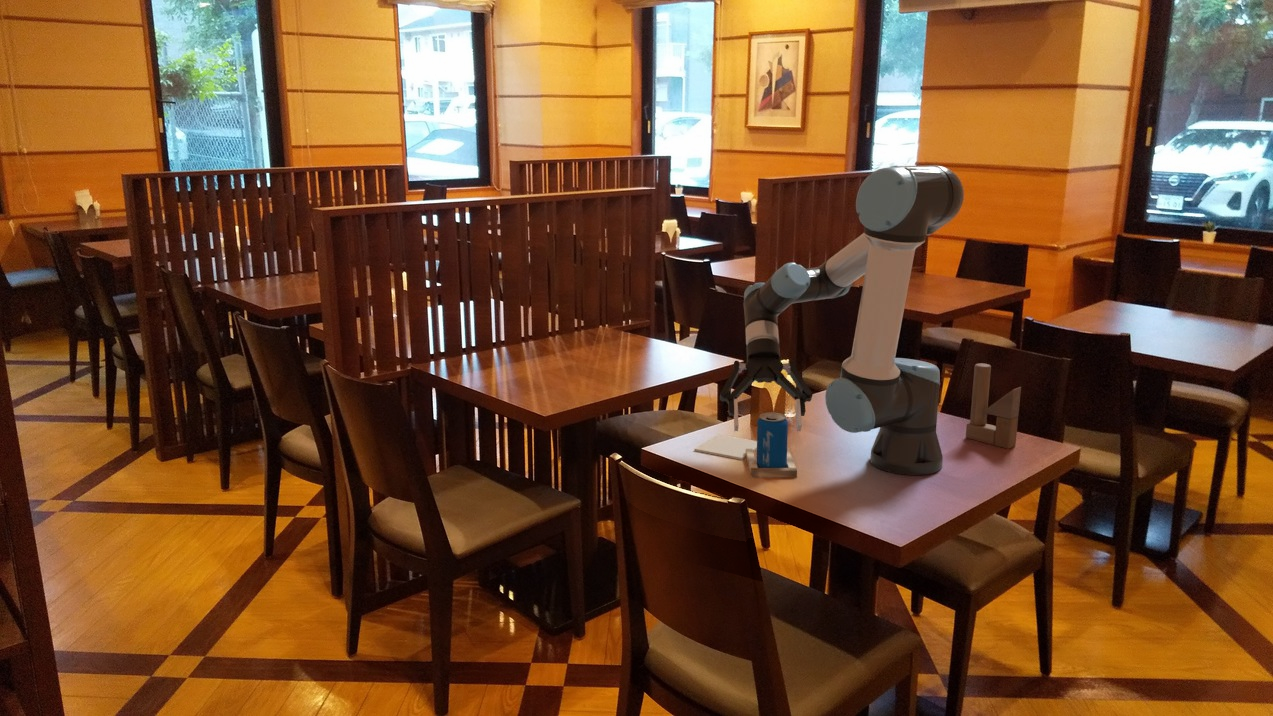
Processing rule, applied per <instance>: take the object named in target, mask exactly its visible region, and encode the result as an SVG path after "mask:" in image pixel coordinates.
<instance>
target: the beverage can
mask: <svg viewBox="0 0 1273 716" xmlns="http://www.w3.org/2000/svg"><path fill="white" fill-rule="evenodd" d="M756 423H757V427H756V441H757V450H756V463H757V467H758V468H786V467H787V449H788V434H789V433H788V431H789V422H788V420H787V415H785V414H784V413H781V412H780V413H779V412H764V413H761V414H760V415H759V418H758V419H757V422H756Z"/></svg>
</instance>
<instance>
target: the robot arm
mask: <svg viewBox="0 0 1273 716" xmlns="http://www.w3.org/2000/svg"><path fill="white" fill-rule="evenodd" d="M964 196H965V191H964V186H963V183H962V181H961V179H960V178H959V176H958V175H957V174H956V173H955V172H954V171H953V170H951V169H950V168H947V167H945V166H942V165H939V164H929V165H928V164H927V165H892V166H889V167H882V168H878V169H876V170H874V171H873V172H871V173H870V175H868V176H867V177H866V178H865V179H864V180H863V182H862V183H861V185H860V187H859V189H858V191H857V195H856V200H855V210H856V213H857V214H858V220H859V222H860V223H861V224H862V226H863V227H864V229H863V233H862V234H860V235H859V236H858V237H857V238H855V239H853V240H852V241H851V242H849V243H848V244H847V245H846V246H844V247H843V248H841V249H840V250H839V251H838V252H837V253H835V254H834V255H833V256H831V257H830V258H829V259H828V260H826V261H824V262H823V263H822V264H821V265H819V266H817V267H816V266H815V267H808V268H805V267H804V266H802V265H801V264H797V263H796V262H787V263H785V264H783V266H781V267H779V268H778V269H777V270H776V271H775V272H774V273H773V274H772V275H771V276H770V277H769V278H768V279H767V281H765V282H756V283H754V284H753V285H748V286H747V287H746V289H745V290H744V293H743V312H744V314H743V316H744V325H745V327H744V328H745V344H746V347H745V348H746V349H745V350H746V363H742V362H741V363H740V361H739V360H735V361H733V367H732V368H733V369H732V371H731V373H730V374H729V377H728V378H727V380H726V382H725V384H724V386H723V388H722V389H721V391H720V395H719V401H721V402H726V403H727V405H728V416H729V417H733V429H734V432H739V407H738V406H739V405H738V404H739V403H738V398H739V397H740V396H741V395H742V394H743V393H744V392H745V391H746V390H747V389H748V387H749V386H751V385H752V384H753V383H754V382H757V383H768V384H769V383H772V382H774V383H775V384H776V385H778V386H780V387H781V388H782V389H783V390H784V391H785V392H786V393H787V394H788V395H789V396H790V397H792V399H793V400H794V401H795V403H794V409H795V410H794V411H795V422H796V423H795V424H796V432H801V430H802V427H803V423H802V422H803V421H802V417H805V414H806V403H807V402H811V401H812V398H813V392H812V390H811V389H810V387H809V386H808V385H807V382H806V381H805V380H804V378H803V377H802V375H801V374H800V372H799V370H798V369H797V366H796V362H795V361H794V360H790V361H789V362H788V363H786V362H785V363H782V361H781V352H780V351H781V349H780V339H779V338H780V336H779V335H780V334H779V324H778V316H779V315H781V313H783V312H784V311H785V310H786V309H787V308H788V307H789V306H790V305H792V304H797V303H805V302H810V301H811V302H813V301H820V300H826V299H827V300H828V299H836V298H839V297H843V296H845V295H846V294H848V293H849V291H850V289H851V287H852V285H853V283H855V281H857V280H859V279H860V278H861V277H863V276H864V278H863V284H862V290H861V296H860V302H859V307H858V313H857V321H856V325H855V332H854V336H853V337H854V338H853V343H852V350H851V355H850V356H849V357H847V358H846V359H845V360H843V362H842V364H841V370H840V376H839V377H837V378H835V379H834V380H832V381H831V382H829V384H828V385H827V387H826V390H825V406H826V408H827V411H828V413H829V415H830V417H831V419H832V421H833V423H835V425H837V426H838V427H839V428H841V430H843V431H845V432H848V433H851V434H852V433H854V434H855V433H862V432H863V433H866V432H870V431H872V430H875V429H879V430H878V432H877V435H876V438H875V440H874V441H873V445H872V447H871V449H870V458H869V459H870V463H871V464H872V465H873V466H874V467H876V468H878V469H879V470H882V471H886V472H888V473H894V474H899V475H906V476H907V475H908V476H921V475H922V476H923V475H930V474H934V473H937V472H939V471H940V470H941V469H942V467H943V462H944V458H943V452H942V449H941V445H940V442H939V438H938V437H939V436H938V433H937V423H938V411H939V398H940V397H939V396H940V386H941V382H940V381H941V379H940V378H941V375H940V374H941V373H940V369H939V367H938V366H937V365H935V364H933V363H930V362H927V361H923V360H919V359H911V358H904V357H896V355H897V349H898V345H899V339H900V333H901V328H902V322H903V317H904V311H905V306H906V300H907V295H908V291H909V285H910V281H911V280H910V279H911V273H912V269H913V265H914V264H913V262H914V257H915V252H916V249H917V248H918V247H920V246H921V245H922V244H924V243H925V242H926V239H927V236H930V235H933V234H934V233H936V232H937V231H938V230H940V229H941V228H943V227H945V225H946V226H947V224H948V223H950V222H951V221H952V220H953V219H955V218H956V216H957V215H958V214H959V212H960V211H961V208H962V207H963V203H964V200H965V199H964V198H965V197H964ZM743 370H745V371H746V372H747V374H746V376H745V377H744V378H743V380H741V382H739V384H737V386H736V387H735V388H734V389H733V390H732V388H733V386H734V384H735V382H736V380H737V379H738V376H739V374H741V373H742V372H743ZM783 370H784V371H786V373H787V374H789V376H790V379H791V380H792V381H793V382H794V384H795V385H796V386H795V385H794V384H793V383H792V382H791V381H790V380H789V379H788V378H786V376H785V375H784V373H783V372H782V371H783ZM731 390H732V391H731ZM730 391H731V392H730Z"/></svg>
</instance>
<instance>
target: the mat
mask: <svg viewBox="0 0 1273 716" xmlns="http://www.w3.org/2000/svg"><path fill="white" fill-rule="evenodd" d="M693 449H694V452H699V453H704V454H710V455H714V456H719V457H725V458H730V459H735V460H740V461H742V460H744V459H745V458H746V449H753V453H754V452H755V451H757V450H756V449H757V440H754V439H753V440H752V439H745V438H741V437H734V436H729V435H724V434H719V433H718V434H716V435H715V436H713V437H711V438H710V439H708V440H706V441H705V442H703V443H702V444H700V445H698V446H696V447H695V448H693Z"/></svg>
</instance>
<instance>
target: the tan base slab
mask: <svg viewBox="0 0 1273 716" xmlns="http://www.w3.org/2000/svg"><path fill="white" fill-rule="evenodd" d="M745 458H746V461H747V462H746V463H747V466H748V470H749V474H750V477H751V478H798V470H797V467H796V465H795V462H794V460H793V456H792V454H791V452H790V449H789V448H787V467H786V468H758V467H757V459H756V457H755V453H754V452H753V449H746V457H745Z"/></svg>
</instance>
